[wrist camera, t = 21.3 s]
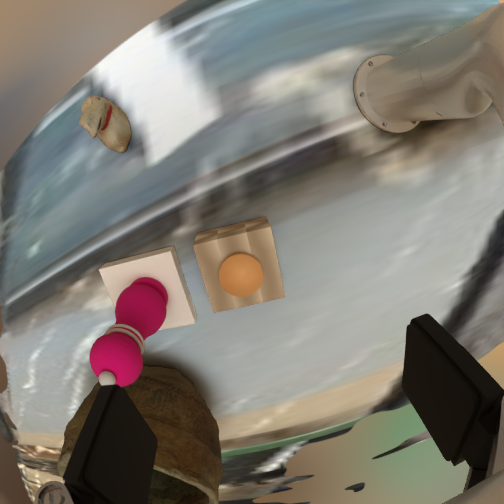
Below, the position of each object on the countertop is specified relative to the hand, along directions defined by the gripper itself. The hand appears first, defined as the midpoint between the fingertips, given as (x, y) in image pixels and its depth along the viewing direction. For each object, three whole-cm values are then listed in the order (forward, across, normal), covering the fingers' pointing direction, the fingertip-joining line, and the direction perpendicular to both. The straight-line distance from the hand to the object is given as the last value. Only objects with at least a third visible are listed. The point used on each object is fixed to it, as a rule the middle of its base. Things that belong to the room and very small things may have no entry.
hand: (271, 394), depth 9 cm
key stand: (+36, +2, +8) cm, 37 cm away
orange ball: (+36, +2, +8) cm, 37 cm away
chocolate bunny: (+37, +15, -16) cm, 42 cm away
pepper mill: (+34, +17, +10) cm, 39 cm away
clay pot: (+36, +24, +31) cm, 54 cm away
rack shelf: (+36, +17, +10) cm, 41 cm away
